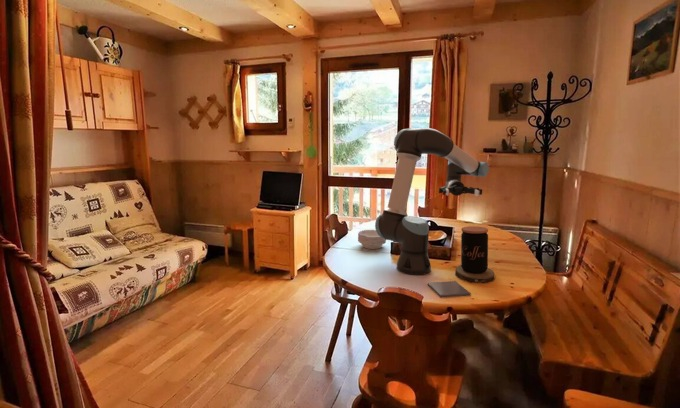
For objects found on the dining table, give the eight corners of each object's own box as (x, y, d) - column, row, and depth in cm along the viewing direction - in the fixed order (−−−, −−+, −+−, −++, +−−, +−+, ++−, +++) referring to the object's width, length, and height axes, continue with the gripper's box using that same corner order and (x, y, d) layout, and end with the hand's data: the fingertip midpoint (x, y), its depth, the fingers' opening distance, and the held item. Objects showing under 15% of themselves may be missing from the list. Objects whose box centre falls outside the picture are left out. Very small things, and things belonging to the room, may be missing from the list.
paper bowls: (391, 249, 192) (391, 234, 190) (365, 252, 186) (365, 237, 185) (377, 241, 206) (378, 228, 204) (353, 244, 200) (353, 230, 199)
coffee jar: (457, 271, 153) (457, 230, 151) (465, 264, 162) (465, 225, 160) (484, 275, 147) (484, 232, 145) (490, 268, 156) (490, 227, 154)
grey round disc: (452, 269, 164) (452, 263, 164) (489, 271, 162) (489, 265, 161) (458, 283, 149) (458, 276, 148) (498, 285, 146) (499, 278, 146)
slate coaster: (440, 297, 134) (440, 295, 133) (427, 285, 145) (427, 282, 145) (470, 295, 136) (470, 293, 135) (455, 283, 147) (455, 280, 147)
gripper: (480, 195, 187) (490, 202, 166) (431, 193, 191) (435, 200, 170) (481, 181, 185) (492, 186, 165) (432, 179, 189) (436, 184, 169)
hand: (463, 193), depth 167 cm, fingers open, 13 cm apart
